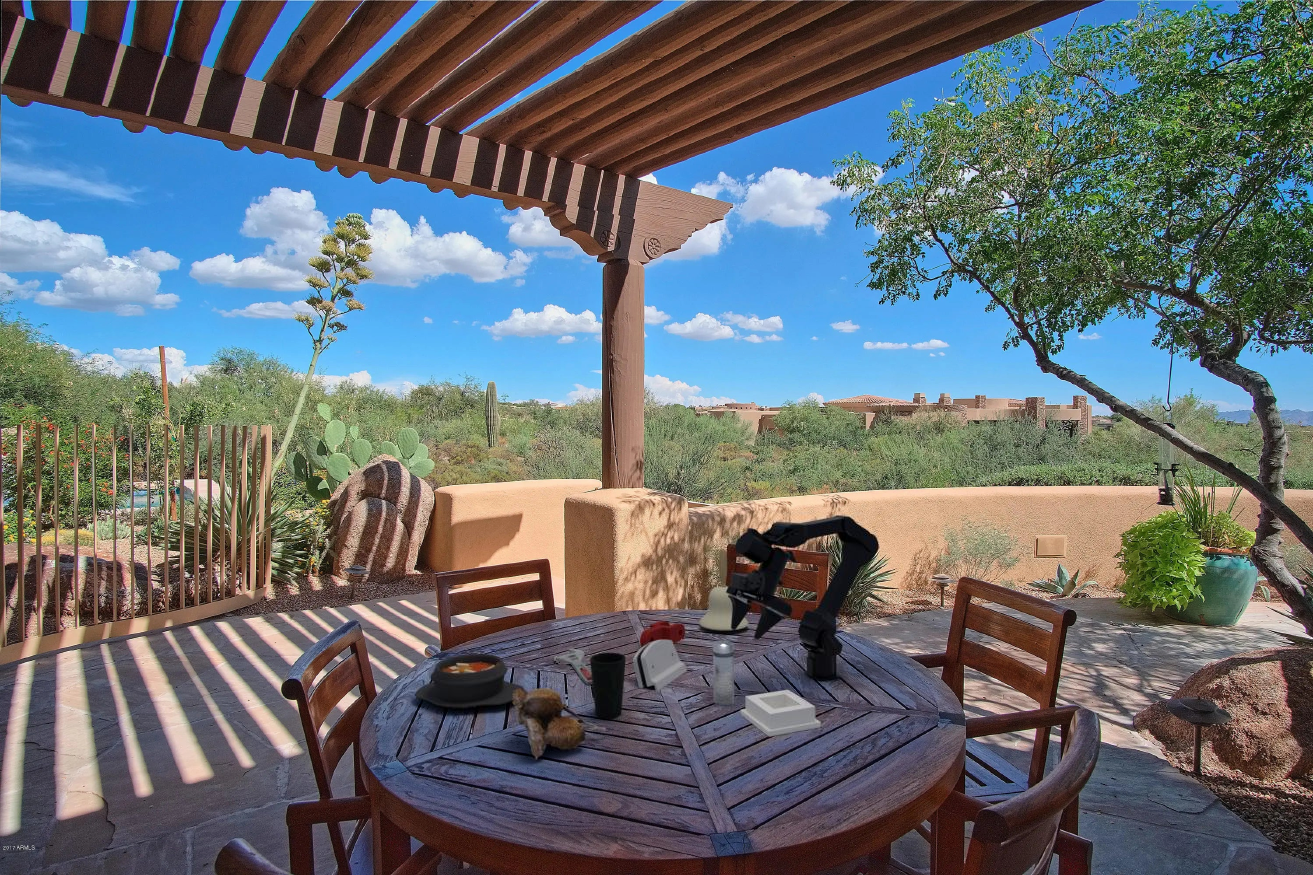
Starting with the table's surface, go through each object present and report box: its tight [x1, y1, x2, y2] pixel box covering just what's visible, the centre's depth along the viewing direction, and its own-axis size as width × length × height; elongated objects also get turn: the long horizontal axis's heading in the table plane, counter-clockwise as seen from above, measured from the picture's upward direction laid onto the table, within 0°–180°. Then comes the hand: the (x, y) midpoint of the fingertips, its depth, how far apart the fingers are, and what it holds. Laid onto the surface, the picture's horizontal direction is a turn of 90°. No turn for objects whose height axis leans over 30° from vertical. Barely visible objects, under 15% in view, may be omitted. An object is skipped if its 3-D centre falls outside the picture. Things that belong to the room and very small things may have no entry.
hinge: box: [632, 640, 688, 691], centre depth 169 cm, size 17×5×10 cm, turn 152°
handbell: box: [698, 548, 749, 631], centre depth 214 cm, size 15×15×25 cm
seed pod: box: [512, 687, 607, 761], centre depth 132 cm, size 13×16×15 cm
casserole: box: [414, 653, 525, 709], centre depth 156 cm, size 25×19×8 cm
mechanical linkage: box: [639, 620, 686, 648], centre depth 199 cm, size 16×7×5 cm, turn 144°
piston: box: [711, 639, 735, 706], centre depth 153 cm, size 5×5×13 cm
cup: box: [589, 652, 626, 720], centre depth 147 cm, size 8×8×12 cm
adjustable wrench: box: [553, 648, 593, 686], centre depth 177 cm, size 8×26×2 cm, turn 15°
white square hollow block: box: [739, 689, 822, 738], centre depth 142 cm, size 12×12×4 cm
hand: (744, 633), depth 158 cm, fingers open, 9 cm apart
